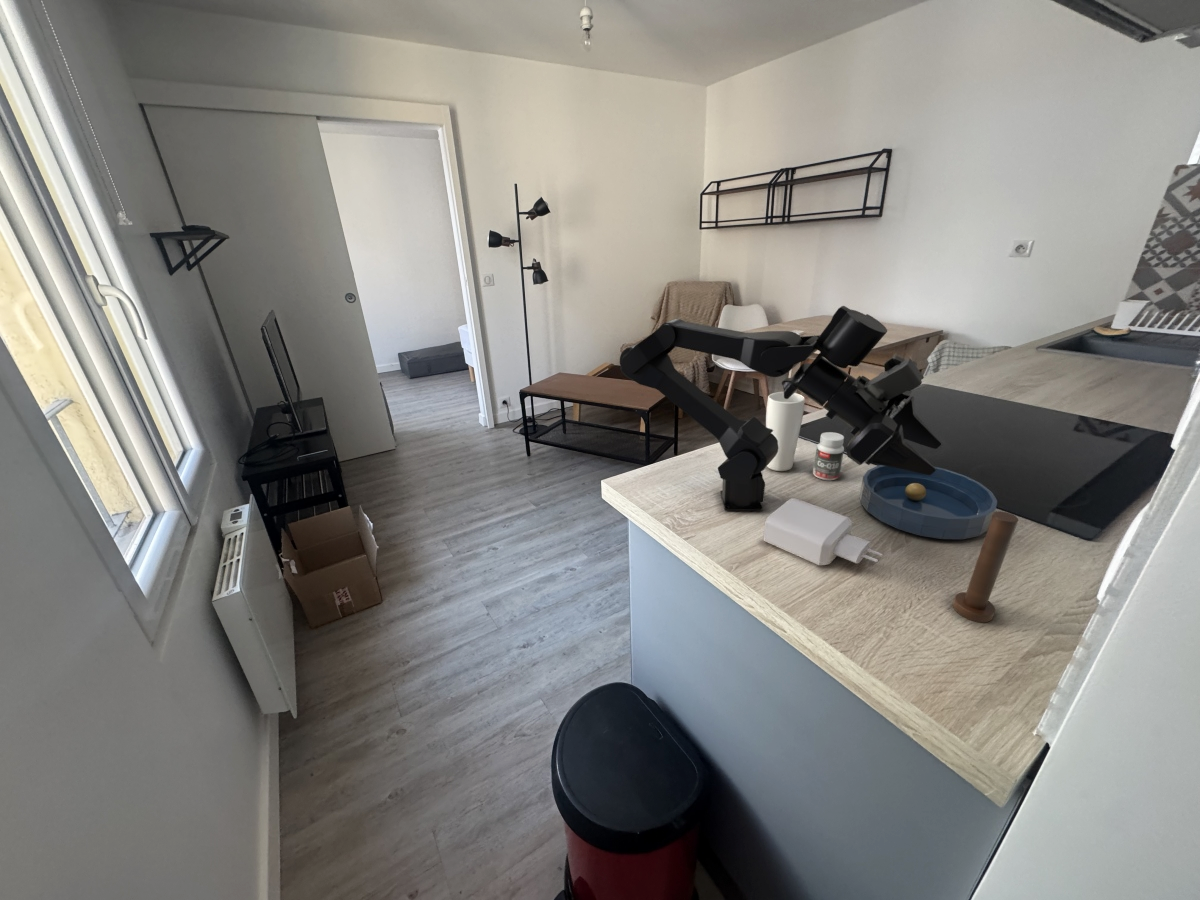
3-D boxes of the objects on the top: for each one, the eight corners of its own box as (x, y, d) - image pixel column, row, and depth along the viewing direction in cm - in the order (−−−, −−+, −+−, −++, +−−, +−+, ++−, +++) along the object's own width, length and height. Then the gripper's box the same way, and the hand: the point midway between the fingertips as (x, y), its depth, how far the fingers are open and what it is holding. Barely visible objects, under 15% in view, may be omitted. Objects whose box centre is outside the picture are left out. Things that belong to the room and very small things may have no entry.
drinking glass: (799, 474, 93) (808, 403, 86) (763, 473, 94) (769, 402, 88) (793, 459, 98) (801, 391, 92) (759, 458, 100) (765, 391, 94)
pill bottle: (812, 479, 91) (818, 439, 87) (812, 468, 94) (818, 430, 91) (839, 482, 89) (846, 442, 85) (838, 471, 93) (845, 432, 89)
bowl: (887, 543, 72) (893, 518, 70) (843, 484, 88) (847, 463, 86) (1017, 544, 69) (1027, 518, 68) (947, 484, 86) (953, 462, 84)
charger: (863, 589, 63) (762, 543, 73) (888, 557, 69) (791, 519, 79) (870, 560, 61) (765, 518, 71) (895, 530, 67) (794, 495, 77)
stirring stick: (964, 622, 57) (998, 526, 51) (945, 598, 61) (975, 507, 55) (1000, 623, 57) (1038, 526, 51) (979, 599, 60) (1012, 507, 54)
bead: (908, 503, 79) (912, 488, 78) (900, 494, 82) (903, 479, 81) (927, 503, 79) (931, 488, 78) (918, 494, 82) (922, 479, 80)
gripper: (862, 361, 56) (987, 442, 52) (887, 331, 69) (988, 393, 65) (804, 428, 63) (910, 503, 59) (837, 389, 76) (925, 448, 72)
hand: (936, 458), depth 63 cm, fingers open, 9 cm apart
